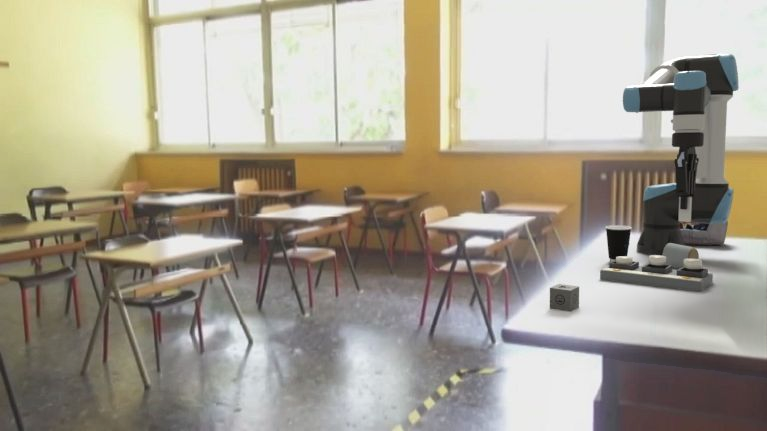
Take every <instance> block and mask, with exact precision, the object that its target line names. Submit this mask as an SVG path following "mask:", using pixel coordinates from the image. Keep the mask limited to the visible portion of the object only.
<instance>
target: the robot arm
mask: <svg viewBox="0 0 767 431" xmlns="http://www.w3.org/2000/svg"><path fill="white" fill-rule="evenodd" d="M739 88H740V87H739V73H738V65H737V60H736V57H735V55H734V54H731V53H715V54H704V55H693V56H682V57H677V58H673V59H671V60H667V61H665V62H663V63H662V64H660V65H658V66H656V68H655V67H654V69H653V70H652V72H650V75H649V77H648V78H647V79H646V80H645V81H644V82H642V83H641V84H640V85H639V84H638V85H637V84H634V85H629V86H625V88H624V90H623V94H622V106H623V110H624V111H625V112H627V113H636V114H638V113H648V112H649V113H652V112H672V118H671V120H670V123H671V124H672V131H674V132H673V133H672V134H671V146H672V147H673V148H678V153H677V155H676V158H675V159H674V161H673V162H674V167H675V182H672V183H671V182H670V183H661V184H655V185H654V184H653V185H649V186H647V187H645V189H644V191H643V192H644V193H643V199H642V201H643V206H642V207H643V209H642V229H641V233H640V236H639V238H638V240H637V244H636V252H637V253H641V254H645V255H649V256H651V255H660V256H662V254H663V250H664V248H665V246H666V245H667V244H668V243H674V244H678V245H684V246H686V245H685V244H684V241H683V238H682V235H681V232H680V223H687V224H697V223H706V224H723V223H725V222H726V221H728V220H729V217H730V213H731V209H732V204H733V199H734V193H735V192H734V190H735V189H733V188H732V187H729V186H730V185H729V184H730V182H729V181H728V180H727V179H726V178H725V161H726V160H725V158H726V157H725V155H726V135H727V117H728V116H727V115H728V114H727V111H728V102H729V101H730V100H731V99H732V98H733V97H734V96H733V95H734V92H736V91H739Z"/></svg>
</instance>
